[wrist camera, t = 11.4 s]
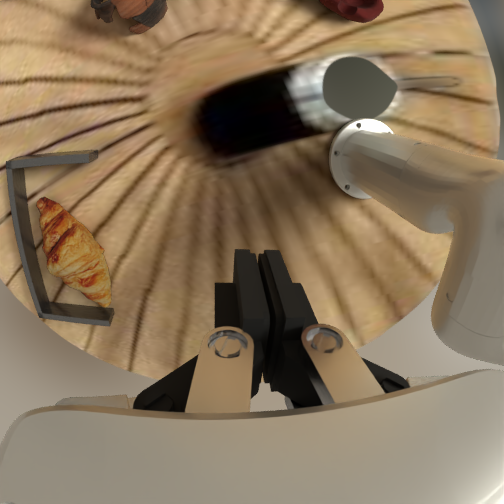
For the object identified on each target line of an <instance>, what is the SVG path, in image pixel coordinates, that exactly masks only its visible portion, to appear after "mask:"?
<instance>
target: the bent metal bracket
mask: <svg viewBox="0 0 504 504" xmlns="http://www.w3.org/2000/svg"><path fill="white" fill-rule="evenodd" d="M97 158H98V150H83V151H69V152H57V153H46V154H37V155H28V156H21V157H16V158H14V159H11V160H9V161H6V170H7V181H8V190H9V199H10V206H11V212H12V218H13V224H14V229H15V234H16V239H17V244H18V248H19V253H20V257H21V261H22V265H23V268H24V272H25V276H26V279H27V283H28V286H29V289H30V292H31V296H32V299H33V302H34V305H35V307H36V310H37V313H38V316H39V318H45V319H52V320H59V321H67V322H75V323H83V324H92V325H101V326H110V325H111V322H112V319H113V316H114V309H113V308H103V307H92V306H82V305H72V304H63V303H54V302H49V300H48V297H47V293H46V290H45V286H44V283H43V279H42V275H41V271H40V267H39V263H38V259H37V255H36V250H35V245H34V240H33V235H32V230H31V224H30V218H29V211H28V204H27V196H26V186H25V175H24V167H33V166H43V165H56V164H71V163H89V162H91V161H93V160H95V159H97Z"/></svg>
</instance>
